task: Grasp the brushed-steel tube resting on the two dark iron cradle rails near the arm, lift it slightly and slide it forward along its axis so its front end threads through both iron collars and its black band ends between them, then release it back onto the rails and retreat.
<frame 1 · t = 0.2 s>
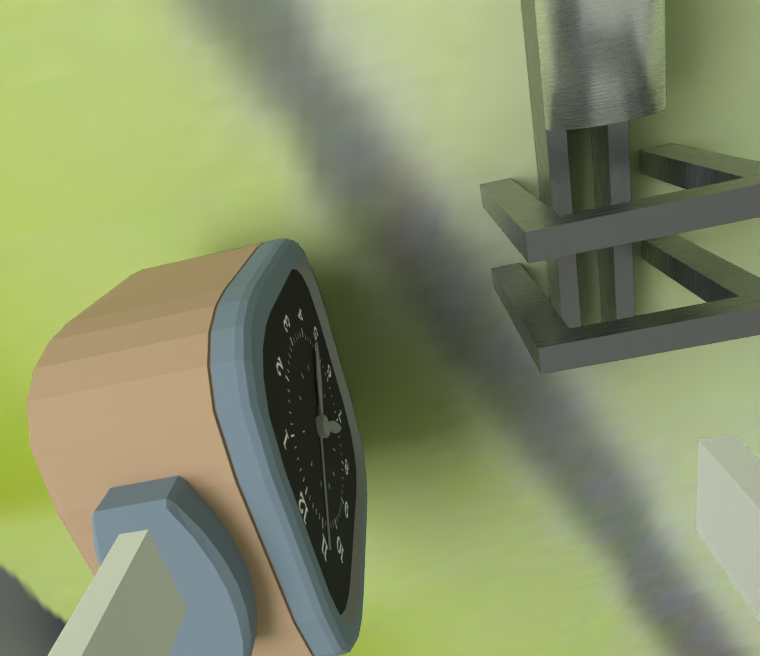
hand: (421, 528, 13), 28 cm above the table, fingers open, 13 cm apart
gray metal rack: (564, 25, 33), on the table
alarm clock: (281, 356, 43), on the table
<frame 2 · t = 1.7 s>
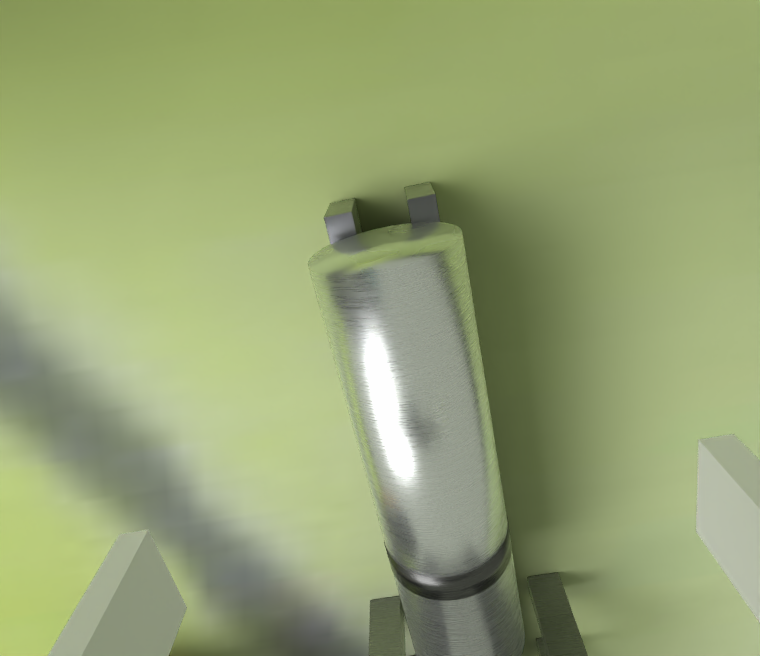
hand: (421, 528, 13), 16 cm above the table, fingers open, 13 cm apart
gray metal rack: (442, 489, 33), on the table
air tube: (428, 434, 28), point 3 cm above the table, touching gray metal rack
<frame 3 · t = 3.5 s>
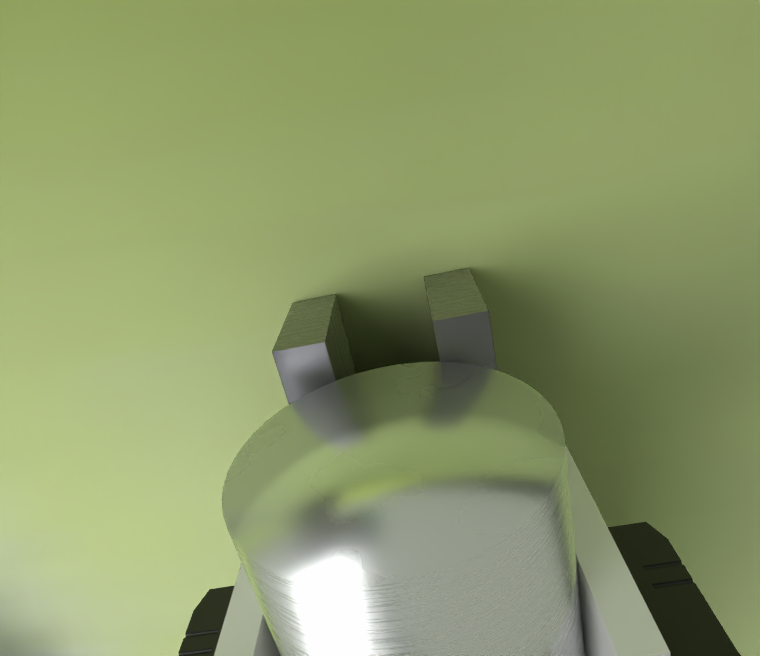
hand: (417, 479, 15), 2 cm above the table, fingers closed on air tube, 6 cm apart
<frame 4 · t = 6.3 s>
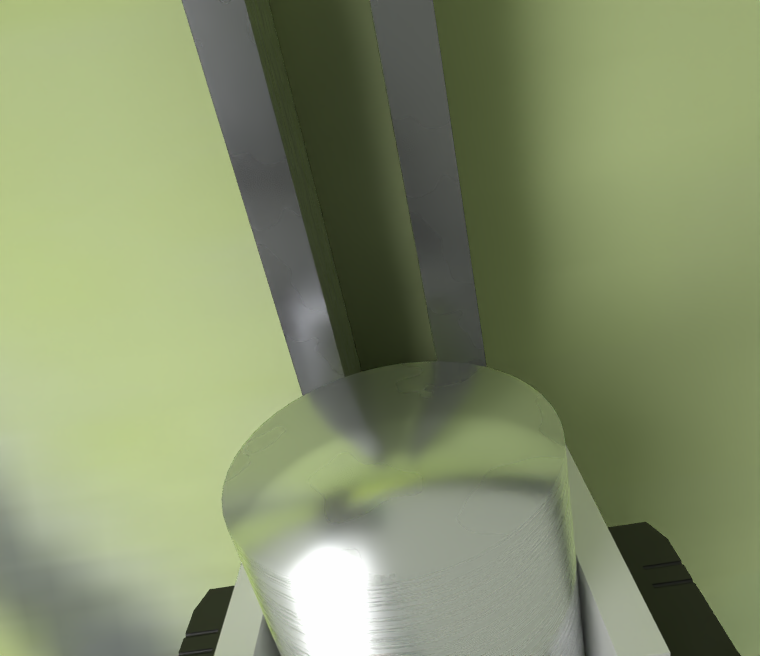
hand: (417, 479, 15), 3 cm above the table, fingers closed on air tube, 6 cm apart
gray metal rack: (431, 515, 20), on the table
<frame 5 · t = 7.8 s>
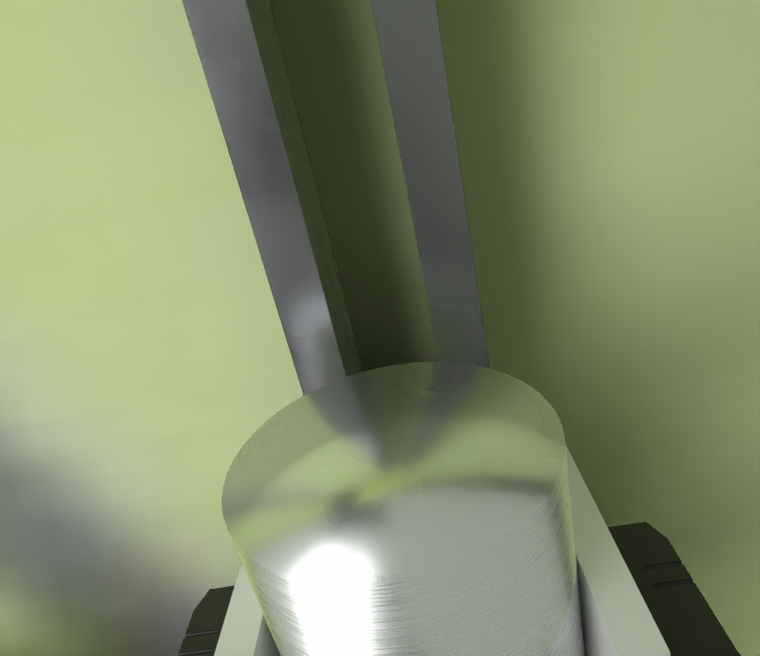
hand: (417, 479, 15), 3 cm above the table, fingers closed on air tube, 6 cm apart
gray metal rack: (400, 364, 17), on the table
when the fingers open (3 cm above the table, at t = 8.9 s): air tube drops 1 cm, resting on gray metal rack.
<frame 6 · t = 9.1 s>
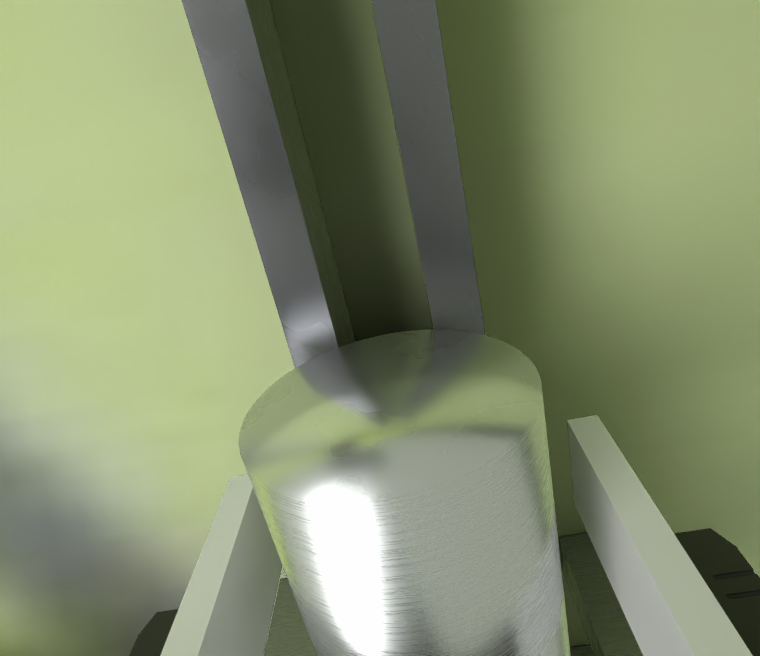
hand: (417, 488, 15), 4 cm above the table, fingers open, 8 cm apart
gray metal rack: (399, 360, 17), on the table
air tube: (454, 633, 18), point 3 cm above the table, touching gray metal rack
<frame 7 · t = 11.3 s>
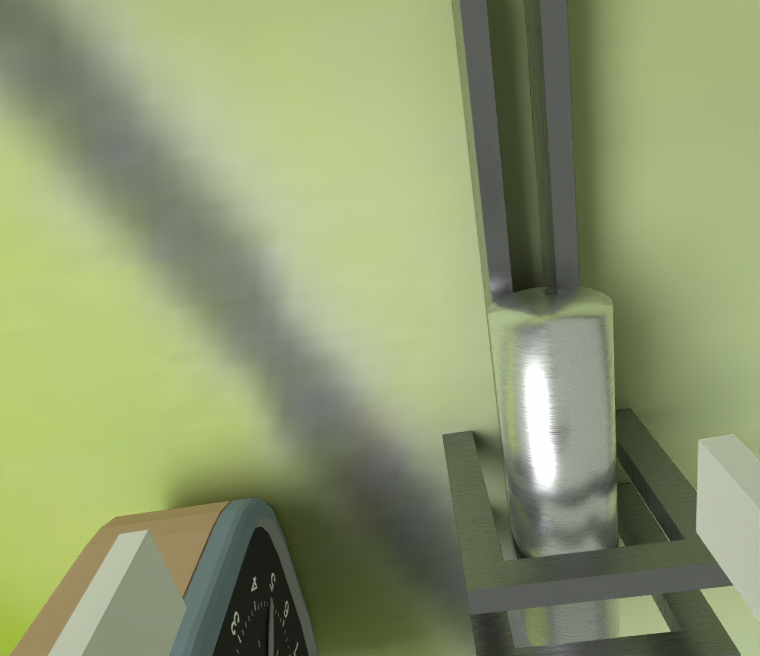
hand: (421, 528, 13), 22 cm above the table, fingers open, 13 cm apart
gray metal rack: (525, 307, 34), on the table
alarm clock: (242, 570, 43), on the table
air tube: (546, 453, 35), point 3 cm above the table, touching gray metal rack
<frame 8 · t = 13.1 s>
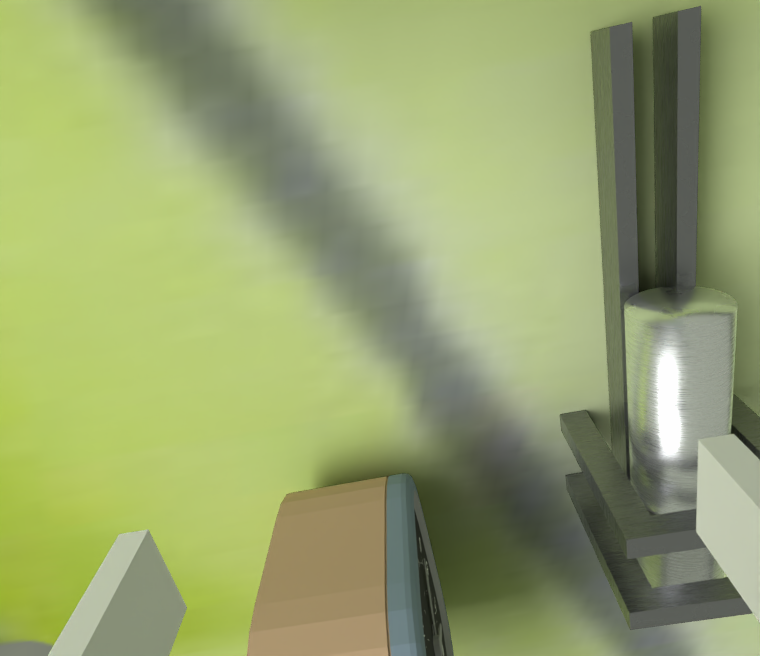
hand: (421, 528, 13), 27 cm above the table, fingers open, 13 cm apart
gray metal rack: (638, 303, 39), on the table
alarm clock: (376, 537, 49), on the table
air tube: (657, 427, 40), point 3 cm above the table, touching gray metal rack
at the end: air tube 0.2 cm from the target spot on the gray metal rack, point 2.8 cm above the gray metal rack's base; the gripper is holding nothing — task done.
